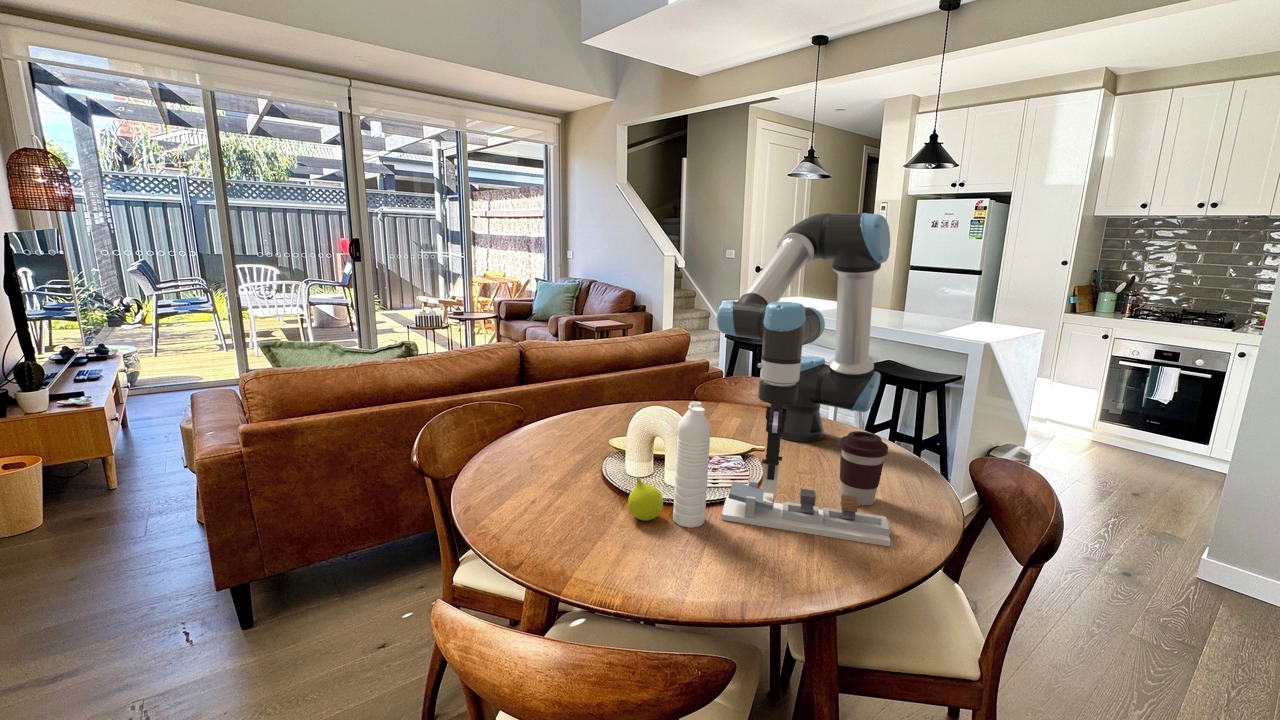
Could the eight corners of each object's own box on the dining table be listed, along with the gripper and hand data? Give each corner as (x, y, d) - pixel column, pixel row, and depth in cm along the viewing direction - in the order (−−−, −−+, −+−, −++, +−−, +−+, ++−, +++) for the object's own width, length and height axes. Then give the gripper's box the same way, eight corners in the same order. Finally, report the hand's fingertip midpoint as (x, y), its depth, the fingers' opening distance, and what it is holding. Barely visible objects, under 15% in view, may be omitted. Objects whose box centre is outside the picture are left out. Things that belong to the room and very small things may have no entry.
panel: (726, 500, 123) (728, 476, 122) (882, 524, 115) (886, 498, 114) (721, 519, 115) (723, 494, 114) (889, 546, 107) (893, 519, 106)
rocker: (731, 484, 121) (732, 480, 121) (773, 496, 119) (774, 491, 119) (728, 498, 115) (729, 493, 114) (772, 510, 113) (773, 505, 112)
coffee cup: (884, 512, 120) (894, 446, 117) (836, 506, 122) (844, 441, 119) (875, 492, 130) (883, 431, 127) (830, 487, 132) (838, 426, 129)
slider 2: (838, 516, 114) (841, 494, 113) (853, 519, 114) (856, 496, 113) (840, 524, 111) (842, 501, 110) (855, 527, 111) (858, 503, 110)
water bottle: (671, 512, 117) (677, 397, 112) (702, 512, 117) (709, 398, 112) (675, 533, 109) (681, 410, 103) (708, 534, 109) (716, 411, 103)
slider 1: (798, 510, 116) (801, 488, 115) (812, 512, 116) (815, 490, 115) (798, 518, 113) (801, 495, 112) (813, 520, 113) (815, 497, 111)
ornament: (622, 512, 116) (624, 467, 114) (654, 508, 119) (656, 463, 117) (634, 529, 110) (636, 482, 108) (667, 524, 112) (670, 477, 110)
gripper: (761, 371, 118) (753, 476, 123) (757, 387, 105) (748, 503, 111) (798, 375, 116) (788, 481, 121) (798, 391, 103) (787, 508, 109)
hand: (769, 491), depth 116 cm, fingers closed
